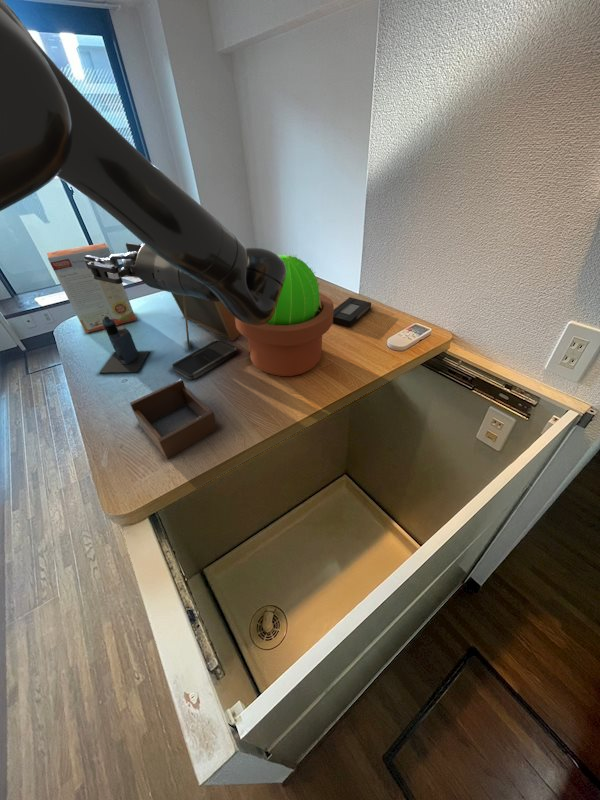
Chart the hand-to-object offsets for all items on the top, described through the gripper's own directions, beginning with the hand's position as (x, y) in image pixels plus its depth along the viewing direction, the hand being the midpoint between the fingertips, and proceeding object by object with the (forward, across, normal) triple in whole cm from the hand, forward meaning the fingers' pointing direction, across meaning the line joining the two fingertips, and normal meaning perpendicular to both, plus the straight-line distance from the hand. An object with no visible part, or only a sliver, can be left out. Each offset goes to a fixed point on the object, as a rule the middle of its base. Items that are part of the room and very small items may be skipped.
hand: (109, 254), depth 60 cm
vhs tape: (-30, -50, +27) cm, 64 cm away
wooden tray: (-18, +10, +27) cm, 34 cm away
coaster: (+10, 0, +27) cm, 29 cm away
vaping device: (+10, -1, +27) cm, 29 cm away
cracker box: (+31, -12, +27) cm, 43 cm away
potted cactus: (-24, -21, +27) cm, 42 cm away
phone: (-7, -10, +27) cm, 30 cm away
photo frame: (+4, -20, +27) cm, 34 cm away
